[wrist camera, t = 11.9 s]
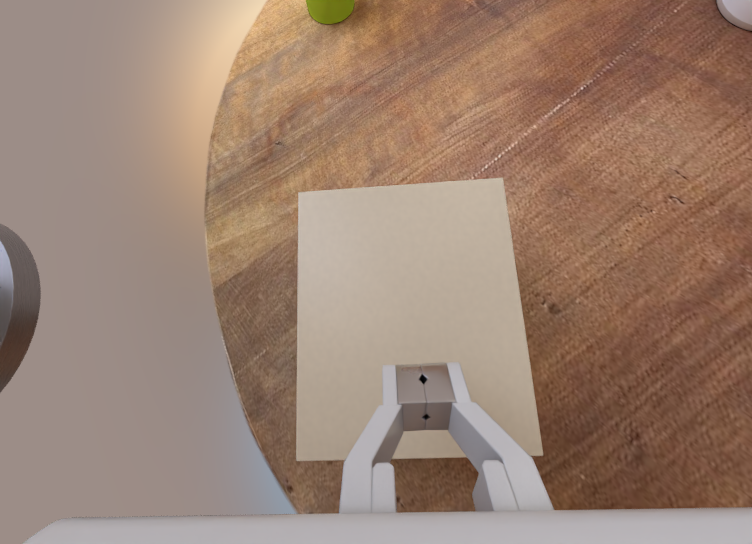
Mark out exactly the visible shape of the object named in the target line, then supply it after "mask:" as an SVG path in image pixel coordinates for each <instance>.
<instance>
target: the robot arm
mask: <svg viewBox="0 0 752 544" xmlns="http://www.w3.org/2000/svg"><path fill="white" fill-rule="evenodd" d="M382 387H383V405H379V406H378V408H377V409H376V411H375V413H374V414H373V416H372V417H371V419H370V421H369V422H368V424H367V425H366V427H365V429H364V430H363V432H362V434H361V435H360V437H359V438H358V440H357V442H356V443H355V445H354V447H353V448H352V450H351V451H350V453H349V455H348V456H347V458H346V459H345V461H344V466H343V476H342V486H341V496H340V506H339V514H274V515H207V516H149V517H148V516H146V517H145V516H142V517H72V518H64V519H59V520H57V521H55V522H52V523H51V524H49V525H48V526H46V527H45V528H43V529H42V530H40V531H39V532H37V533H36V534H34V535H33V536H31V537H30V538H29V539H27V540H26V541H25V542H24V543H22V544H752V507H738V508H671V509H605V510H554V508H553V506H552V503H551V501H550V498H549V496H548V494H547V491H546V489H545V487H544V484H543V482H542V479H541V477H540V475H539V472H538V470H537V468H536V465H535V463H534V460H533V458H532V457H531V456H530V455H529V454H528V453H527V452H526V451H525V450H524V449H523V448H522V447H521V446H520V445H519V444H518V443H517V442H516V441H515V440H514V439H513V438H512V437H511V436H510V435H509V434H508V433H507V432H506V431H505V430H504V429H503V428H502V427H501V426H500V425H499V424H498V423H497V422H496V421H495V420H494V419H493V418H492V417H491V416H489V415H488V414H487V413H486V412H485V411H484V410H483V409H482V408H481V407H480V406H479V405H478V404H477V403H476V402H472V401H471V397H470V394H469V391H468V388H467V384H466V381H465V378H464V375H463V371H462V368H461V365H460V363H459V362H450V363H445V362H442V363H425V364H408V365H396V367H395V365H383V367H382ZM418 430H448V432H449V433H450V435H451V436H452V437H453V439H454V440H455V441H456V443H457V444H458V445H459V447H460V448H461V449H462V451H463V452H464V454H465V455H466V456H467V458H468V459H469V460H470V462H471V463H472V464H473V466H474V467H475V469H476V470H477V471H478V473H479V475H478V478H477V481H476V484H475V487H474V490H473V493H472V497H473V501H474V505H475V510H476V511H471V512H405V513H397V501H396V487H395V475H394V467H393V466H392V465H391V464H390V462H391V459H392V457H393V455H394V453H395V450H396V448H397V446H398V444H399V442H400V439H401V437H402V435H403V431H418Z"/></svg>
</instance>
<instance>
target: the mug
mask: <svg viewBox="0 0 752 544" xmlns="http://www.w3.org/2000/svg"><path fill="white" fill-rule="evenodd" d="M717 6H718V9H719V11H720V12H721V14H722V15H723V16H724V17H725V18H726V19H727V20H728V21H729V22H731V23H732V24H734V25H735V26H737V27H740V28H743V29H745V30H750V31H752V0H717Z"/></svg>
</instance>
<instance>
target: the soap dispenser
mask: <svg viewBox="0 0 752 544" xmlns="http://www.w3.org/2000/svg"><path fill="white" fill-rule="evenodd" d="M306 3H307V7H308V11H309V14H310V15H311V17H312V18H313V19H314V20H316V21H317V22H320V23H323V24H334V23H338V22H341V21H343V20H344V19H346V18H347V17H348V16H349V15H350V14H351V12H352V11H353V8H354V0H306Z"/></svg>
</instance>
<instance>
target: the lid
mask: <svg viewBox="0 0 752 544" xmlns="http://www.w3.org/2000/svg"><path fill="white" fill-rule="evenodd" d="M442 362H445V363H450V362H459V363H460V365H461V368H462V371H463V375H464V378H465V381H466V384H467V388H468V391H469V394H470V397H471V401H472V402H476V403H477V404H478V405H479V406H480V407H481V408H482V409H483V410H484V411H485V412H486V413H487V414H488V415H489V416H491V417H492V418H493V419H494V420H495V421H496V422H497V423H498V424H499V425H500V426H501V427H502V428H503V429H504V430H505V431H506V432H507V433H508V434H509V435H510V436H511V437H512V438H513V439H514V440H515V441H516V442H517V443H518V444H519V445H520V446H521V447H522V448H523V449H524V450H525V451H526V452H527V453H528V454H529V455H530V456H543V449H542V442H541V435H540V428H539V421H538V415H537V408H536V401H535V394H534V387H533V380H532V373H531V367H530V360H529V353H528V346H527V339H526V332H525V325H524V319H523V312H522V305H521V298H520V291H519V284H518V278H517V271H516V264H515V257H514V250H513V243H512V236H511V230H510V223H509V216H508V209H507V202H506V195H505V188H504V182H503V178H493V179H478V180H464V181H450V182H436V183H422V184H408V185H394V186H379V187H365V188H351V189H337V190H323V191H309V192H299V199H298V307H297V414H296V461H326V460H345V459H346V458H347V456H348V455H349V453H350V451H351V450H352V448H353V447H354V445H355V443H356V442H357V440H358V438H359V437H360V435H361V434H362V432H363V430H364V429H365V427H366V425H367V424H368V422H369V421H370V419H371V417H372V416H373V414H374V413H375V411H376V409H377V408H378V406H379V405H383V387H382V367H383V365H395V367H396V365H408V364H425V363H442ZM464 457H467V456H466V455H465V454H464V452H463V451H462V449H461V448H460V447H459V445H458V444H457V443H456V441H455V440H454V439H453V437H452V436H451V435H450V433H449V432H448V430H418V431H403V435H402V437H401V439H400V442H399V444H398V446H397V448H396V450H395V453H394V455H393V457H392V459H418V458H464Z"/></svg>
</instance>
